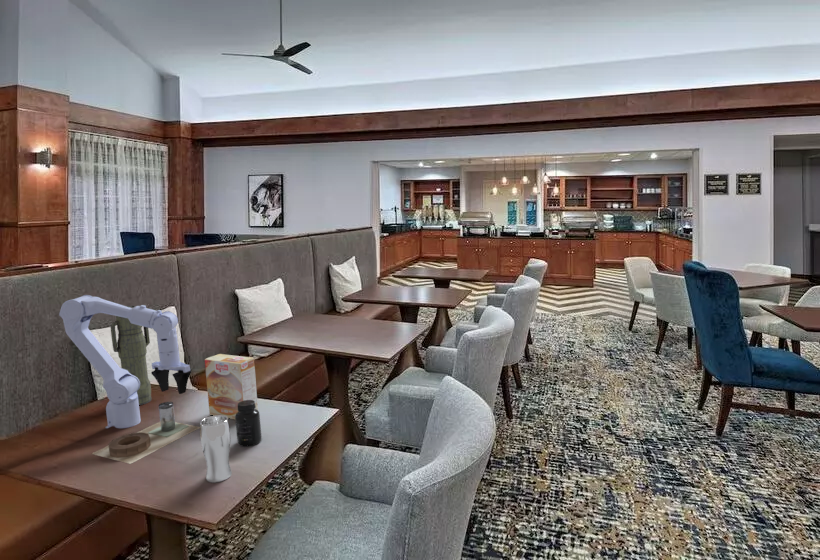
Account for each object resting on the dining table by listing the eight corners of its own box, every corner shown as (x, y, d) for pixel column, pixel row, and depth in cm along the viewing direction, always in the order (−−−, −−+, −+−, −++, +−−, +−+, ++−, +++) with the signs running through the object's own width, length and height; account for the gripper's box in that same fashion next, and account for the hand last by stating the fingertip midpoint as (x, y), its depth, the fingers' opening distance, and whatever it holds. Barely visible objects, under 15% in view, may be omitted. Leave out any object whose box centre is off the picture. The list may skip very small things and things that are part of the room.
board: (91, 457, 139) (89, 445, 138) (164, 422, 160) (163, 412, 160) (130, 467, 132) (129, 455, 132) (201, 430, 154) (200, 419, 153)
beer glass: (209, 470, 129) (204, 415, 127) (236, 468, 130) (231, 413, 128) (200, 484, 123) (194, 427, 121) (229, 482, 123) (224, 425, 121)
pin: (158, 430, 151) (155, 405, 150) (169, 425, 155) (166, 401, 154) (167, 432, 150) (164, 407, 149) (178, 427, 153) (176, 402, 152)
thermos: (161, 398, 182) (151, 304, 177) (128, 409, 172) (117, 311, 167) (147, 394, 187) (137, 303, 182) (115, 405, 177) (103, 309, 172)
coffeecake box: (208, 415, 165) (203, 359, 162) (224, 407, 171) (219, 353, 169) (244, 421, 159) (239, 363, 156) (259, 413, 166) (254, 356, 163)
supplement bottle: (242, 436, 149) (239, 398, 147) (264, 436, 148) (262, 398, 147) (233, 447, 142) (230, 407, 140) (257, 447, 142) (254, 407, 140)
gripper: (141, 352, 156) (146, 393, 158) (175, 355, 150) (180, 398, 152) (160, 346, 163) (165, 386, 164) (193, 349, 157) (198, 390, 159)
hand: (173, 391), depth 159 cm, fingers open, 7 cm apart
